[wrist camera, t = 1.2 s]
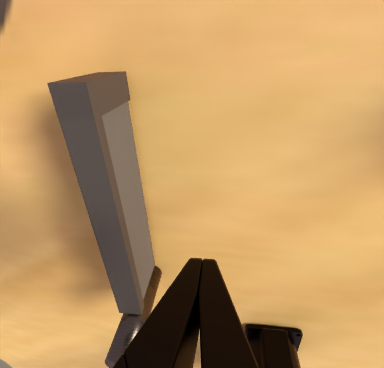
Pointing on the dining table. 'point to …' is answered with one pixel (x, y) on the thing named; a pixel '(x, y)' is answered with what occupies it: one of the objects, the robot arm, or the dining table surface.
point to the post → (133, 321)
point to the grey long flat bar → (108, 178)
